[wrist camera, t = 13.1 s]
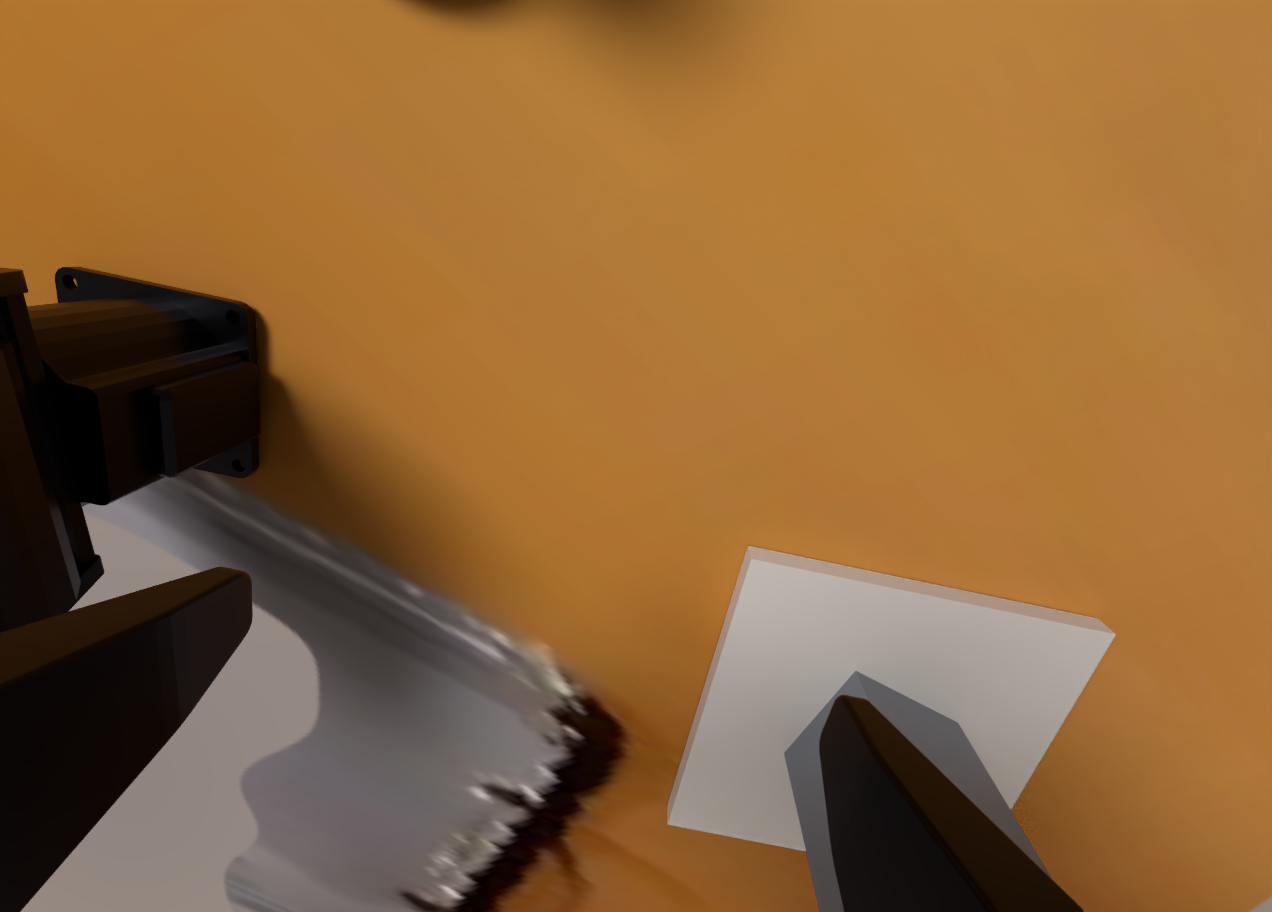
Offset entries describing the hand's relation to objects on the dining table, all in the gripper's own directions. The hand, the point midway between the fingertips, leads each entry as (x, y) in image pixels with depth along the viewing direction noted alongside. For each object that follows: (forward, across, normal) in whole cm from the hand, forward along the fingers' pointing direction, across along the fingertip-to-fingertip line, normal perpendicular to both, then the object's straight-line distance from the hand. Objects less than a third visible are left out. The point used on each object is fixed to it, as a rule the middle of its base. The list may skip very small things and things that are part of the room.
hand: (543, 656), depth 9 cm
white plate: (+13, -13, +11) cm, 21 cm away
